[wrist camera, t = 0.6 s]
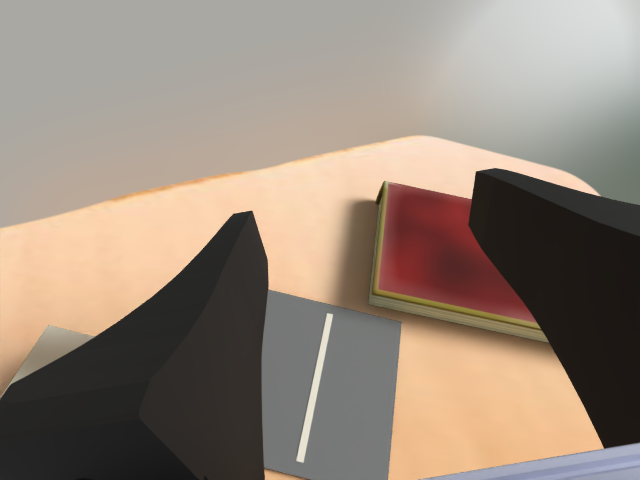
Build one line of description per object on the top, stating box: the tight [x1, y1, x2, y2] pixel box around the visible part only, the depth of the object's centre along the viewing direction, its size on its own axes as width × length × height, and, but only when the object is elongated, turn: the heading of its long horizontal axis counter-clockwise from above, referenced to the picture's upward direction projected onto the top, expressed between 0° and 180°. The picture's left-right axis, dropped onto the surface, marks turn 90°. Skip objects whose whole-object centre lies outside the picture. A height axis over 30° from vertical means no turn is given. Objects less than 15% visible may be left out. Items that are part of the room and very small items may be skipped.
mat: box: [262, 290, 401, 480], centre depth 25 cm, size 12×12×1 cm
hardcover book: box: [368, 181, 549, 343], centre depth 30 cm, size 12×21×4 cm, turn 80°
